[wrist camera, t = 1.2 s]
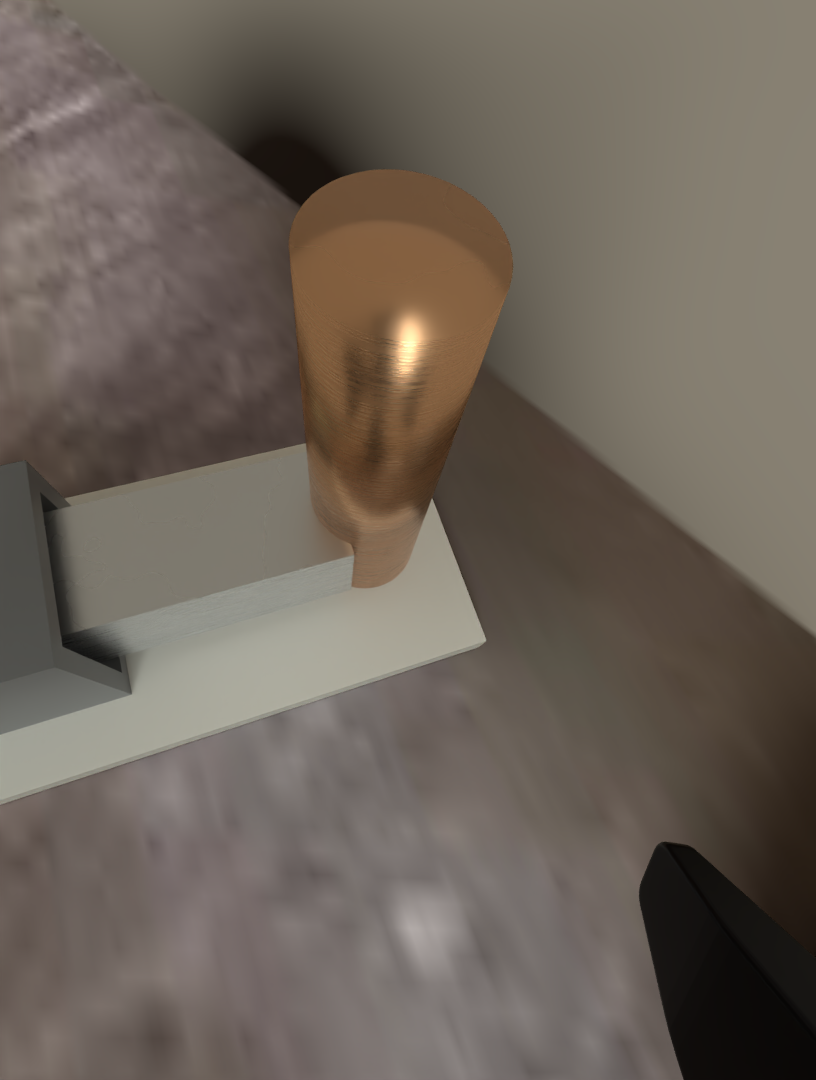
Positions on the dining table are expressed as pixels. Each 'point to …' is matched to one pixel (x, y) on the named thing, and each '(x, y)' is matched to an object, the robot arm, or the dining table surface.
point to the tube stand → (195, 649)
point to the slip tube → (310, 431)
